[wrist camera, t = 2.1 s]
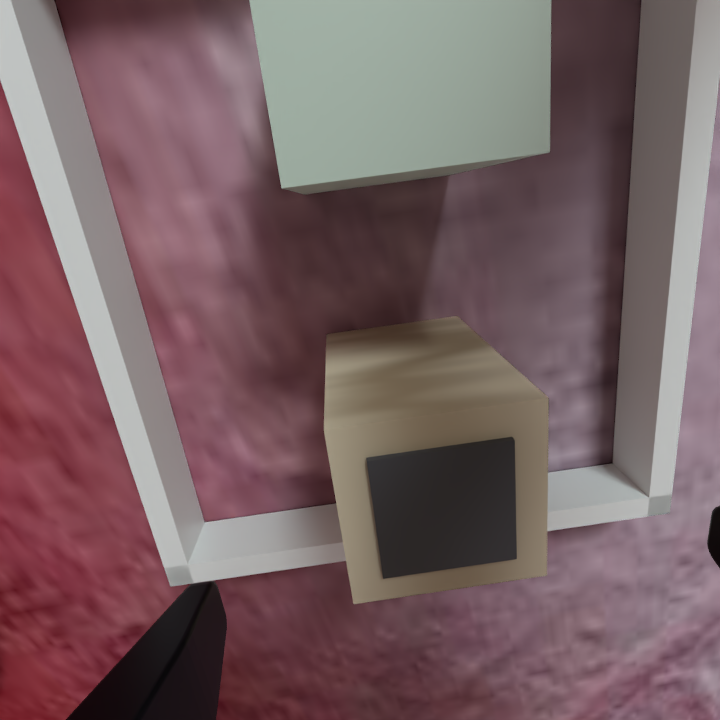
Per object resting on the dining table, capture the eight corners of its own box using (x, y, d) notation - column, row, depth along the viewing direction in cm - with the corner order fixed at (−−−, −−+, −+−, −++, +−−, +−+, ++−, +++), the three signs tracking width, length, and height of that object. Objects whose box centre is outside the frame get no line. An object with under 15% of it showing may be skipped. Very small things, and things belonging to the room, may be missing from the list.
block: (438, 2, 13) (552, -210, 6) (448, 175, 14) (550, 152, 8) (277, 23, 13) (220, -170, 6) (304, 194, 14) (281, 188, 8)
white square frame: (682, -173, 12) (757, -252, 10) (631, 477, 18) (669, 513, 16) (-4, -89, 12) (-77, -152, 10) (188, 542, 18) (170, 586, 16)
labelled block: (456, 316, 16) (551, 400, 9) (464, 436, 17) (549, 585, 11) (326, 334, 16) (323, 433, 9) (344, 453, 17) (354, 614, 10)
